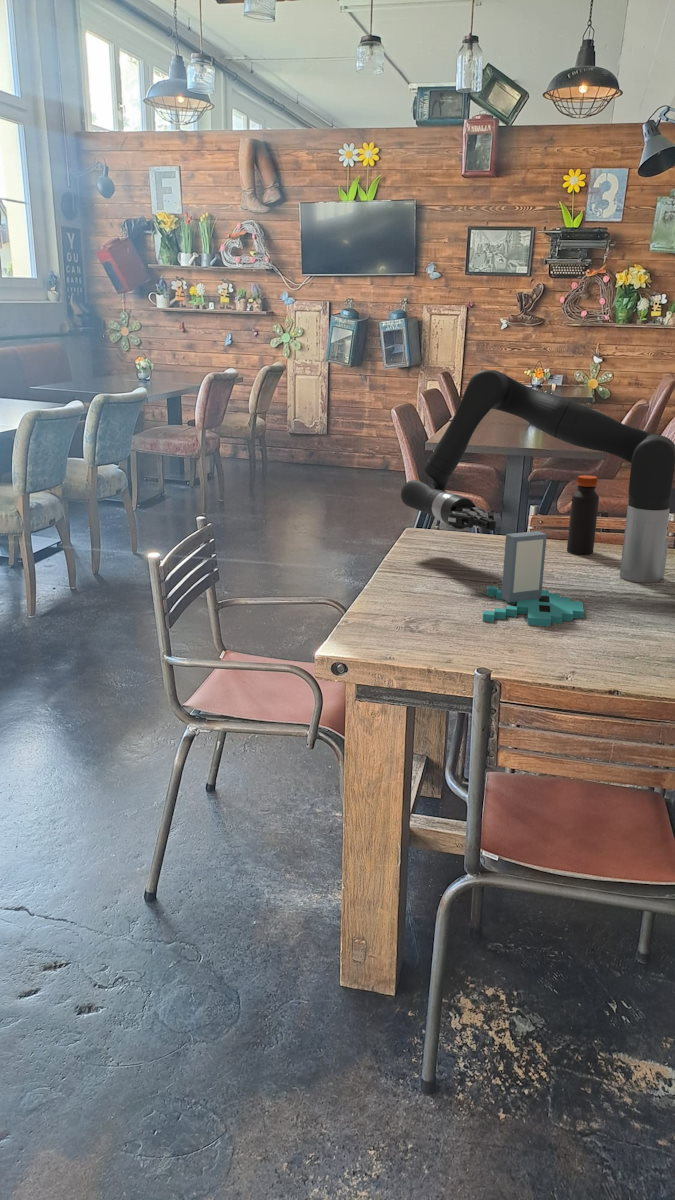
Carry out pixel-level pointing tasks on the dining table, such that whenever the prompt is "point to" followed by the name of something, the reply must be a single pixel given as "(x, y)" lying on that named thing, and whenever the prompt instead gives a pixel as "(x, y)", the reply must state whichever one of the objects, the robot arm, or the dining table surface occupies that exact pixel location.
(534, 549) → the board
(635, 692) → the dining table surface
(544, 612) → the alien figure
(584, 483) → the bottle
